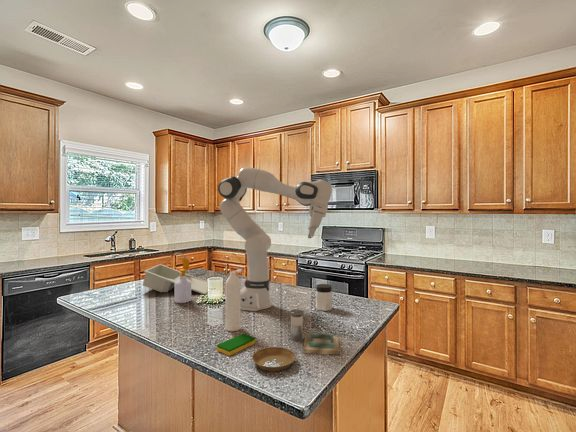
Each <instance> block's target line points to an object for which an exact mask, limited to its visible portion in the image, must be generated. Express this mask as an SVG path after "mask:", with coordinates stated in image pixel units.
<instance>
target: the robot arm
mask: <svg viewBox="0 0 576 432" xmlns="http://www.w3.org/2000/svg"><path fill="white" fill-rule="evenodd" d="M248 189H252V190H256V191H260V192H264V193H271V194H276V195H280V196H283V197H286V198H290V199H293V200H294V201H297V202H298V203H299V204H300V205H302V206H303V207H309V209H308V213H309V217H310V220H309V224H308V228H307V229H308V235H307V238H308V239H312V238H314V235H315V232H316V231H317V229H319V227H320V225H321V223H322V220H323V218H326V214H327V211H328V207H329V202H330V200H331V196H332V193H333V185H332V184H331V182H329V181H327V180H325V179H318V180H315V181H301V182H299V183H298V184H297V186H296V187H294V186H293V185H288V184H286V183H284V182H282V181H280V180H279V179H278V178H277V177H276V176H275V175H274V174H273V173H272V172H269V171H268V170H267V171H266V170H265V169H260V168H255V167H246V166H245V167H242V168H241V169H240V170H239V171H238V174H237V176H235V175H233V176H231V177H227V178H223V179H222V180H221V181H220V182H219V184H218V186H217V192H218V193H219V195H220V196H221V197H223V200H222V201H221V202H220V204H219V211H220V213H221V214H222V215H223V217H224V218H225V220H226V221H227V223H228V224H229V225H230V227H231V228H232V229H233V230H234V232H235V233H236V234H238V235H239V236H240V237H241V238H243V239H244V241H245V242H244V250H245V252H246V260H247V266H248V267H247V270H248V272H247V273H248V277H247V278H245V280H244V283H243V284H244V286H243V287H242V288H240V301H241V304H240V306H241V308H240V310H242V311H243V310H244V311H251V312H257V311H261V310H265V309H269V308H271V307H272V306H273V305H272V301H271V295H270V287H271V282H270V265H269V262H268V261H269V259H268V250H269V249H270V248H271V245H272V239H271V237H270V236H269V235H268V234H267V233H266V231H264V230H263V229H262V228H261V227H260V226H259V225H258V224H257V223H256V222H255V221H254V220H253V219H252V217H251V216H250V215H249V214H248V212H247V211H246V209H244V207H242V205H241V203H240V202H241V201H242V199H243V198H244V197H245V195H246V194H247V192H248V191H247V190H248Z"/></svg>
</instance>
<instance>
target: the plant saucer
mask: <svg viewBox="0 0 576 432" xmlns="http://www.w3.org/2000/svg"><path fill="white" fill-rule="evenodd" d="M296 357H297V356H296V354H295V352H293V351H292V349H288V348H285V347H279V346H270V347H264V348H261V349H259V350H256V351H255V352H253V354H252V355H251V359H252V361H253V363H254V364H255V365H256V366H257V367H258V368H259V369H261V370H263V371H266V370H267V371H266V372H280V370H281V371H283V369H284V370H286V369H288V368H289V367H290V366H291V365H292V364H293V363H294V361H296ZM273 359H276V360H275V361H278V362H281V364H279V365H280V366H279V367H266V366H263V365H264V364H265V362H266V361H271V362H272V360H273ZM278 362H276V363H278ZM282 362H283V363H282Z"/></svg>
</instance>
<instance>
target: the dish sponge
mask: <svg viewBox="0 0 576 432" xmlns="http://www.w3.org/2000/svg"><path fill="white" fill-rule="evenodd" d="M254 344H256V337H254V336H251V335H249V334H246V333H241V334H239V335H236V336H234V337H232V338H230V339H228V340H225V341H222V342H221V343H218V344H216V351H217V352H219V353H221V354H224V355H227V356H229V355H230V356H232V355H234V354H236V353H238V352H240V351H242V350H245V349H246V348H248V347H250V346H252V345H254Z"/></svg>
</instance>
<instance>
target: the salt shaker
mask: <svg viewBox="0 0 576 432" xmlns="http://www.w3.org/2000/svg"><path fill="white" fill-rule="evenodd" d="M289 316H290V340H291V341H294V342H300V341H303V331H304V330H303V329H304V328H303V326H304V324H303V323H304V320H303V316H304V310H303V309H299V308H298V309H297V308H296V309H291V310H290V311H289Z"/></svg>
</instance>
